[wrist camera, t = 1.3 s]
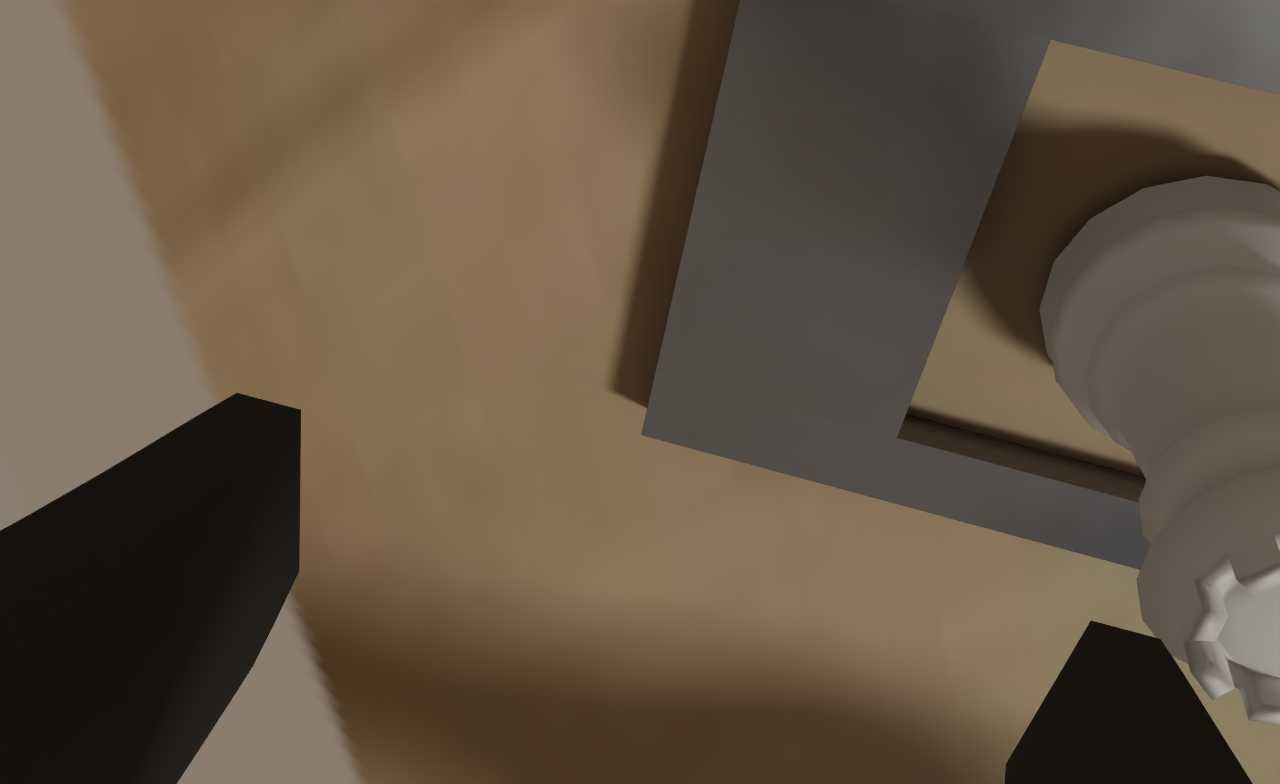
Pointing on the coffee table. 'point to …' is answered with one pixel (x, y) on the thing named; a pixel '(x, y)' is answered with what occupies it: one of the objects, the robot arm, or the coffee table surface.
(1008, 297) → the coffee table surface
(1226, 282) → the rook chess piece
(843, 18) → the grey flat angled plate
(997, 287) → the coffee table surface
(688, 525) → the coffee table surface
